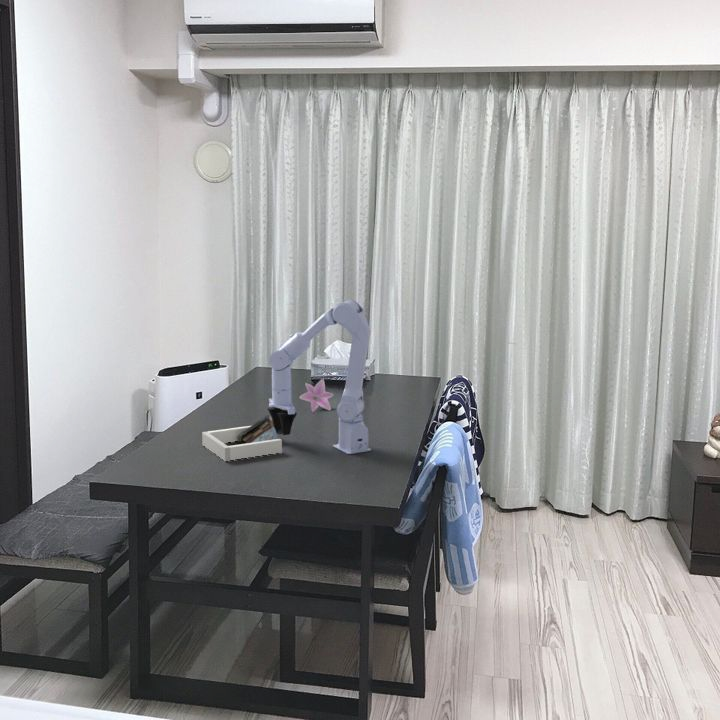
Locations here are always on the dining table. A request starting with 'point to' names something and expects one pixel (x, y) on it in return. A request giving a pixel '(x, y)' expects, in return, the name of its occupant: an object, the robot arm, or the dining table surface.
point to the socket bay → (227, 453)
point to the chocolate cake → (258, 432)
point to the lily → (317, 396)
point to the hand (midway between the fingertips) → (282, 432)
